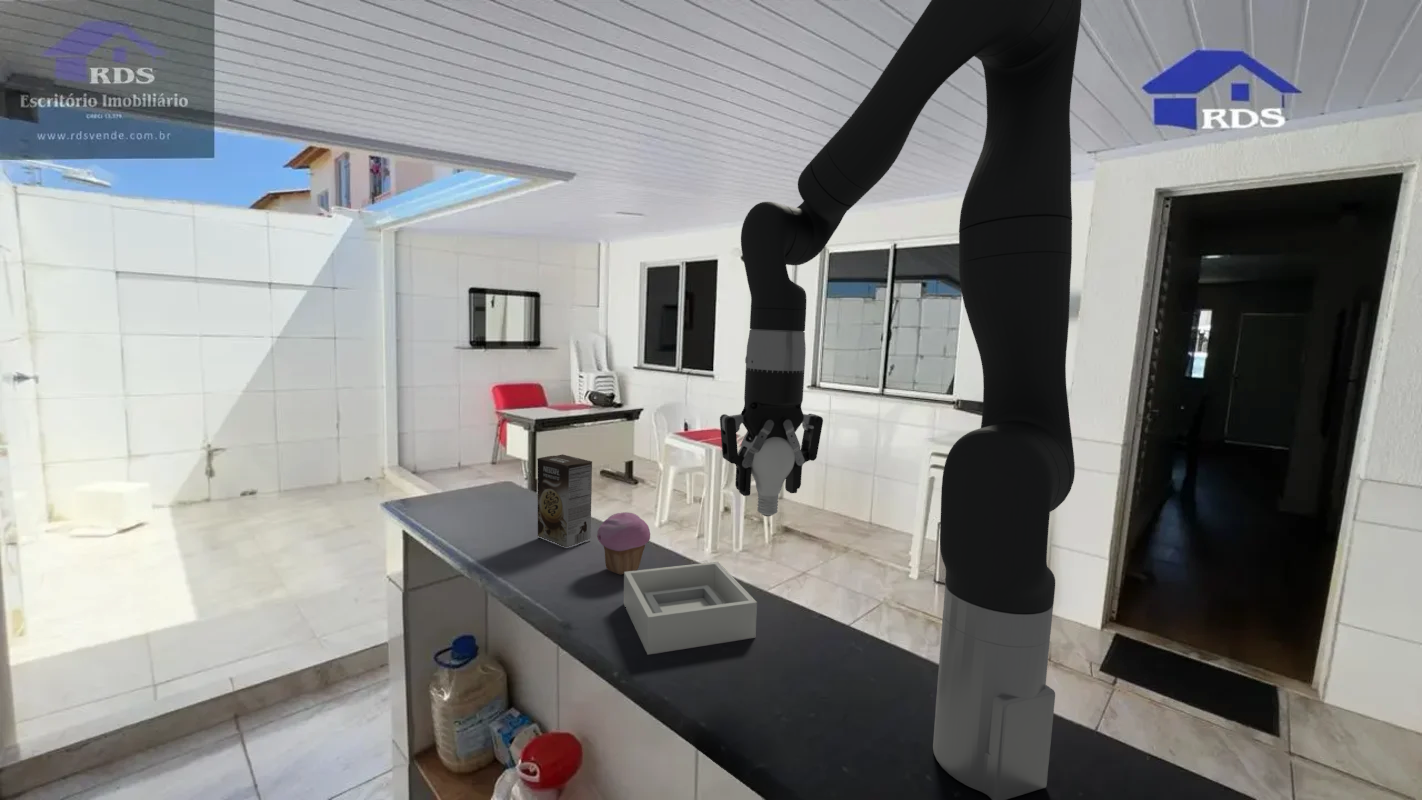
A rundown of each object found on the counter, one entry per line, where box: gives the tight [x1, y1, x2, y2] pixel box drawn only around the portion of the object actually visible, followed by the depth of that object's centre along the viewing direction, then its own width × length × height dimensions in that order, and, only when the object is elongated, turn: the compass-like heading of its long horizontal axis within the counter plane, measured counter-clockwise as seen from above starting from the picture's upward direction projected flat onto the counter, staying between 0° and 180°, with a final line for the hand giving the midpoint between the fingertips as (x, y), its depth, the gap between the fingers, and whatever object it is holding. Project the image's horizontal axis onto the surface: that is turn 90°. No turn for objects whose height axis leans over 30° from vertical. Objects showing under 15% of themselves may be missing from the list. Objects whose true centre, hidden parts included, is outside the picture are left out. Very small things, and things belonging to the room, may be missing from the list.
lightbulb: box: [749, 437, 795, 517], centre depth 78 cm, size 6×6×11 cm
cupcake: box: [596, 511, 651, 575], centre depth 102 cm, size 9×9×10 cm
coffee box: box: [536, 453, 593, 547], centre depth 115 cm, size 9×6×16 cm
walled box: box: [623, 561, 758, 656], centre depth 85 cm, size 15×15×5 cm
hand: (768, 492), depth 78 cm, fingers closed on lightbulb, 6 cm apart
